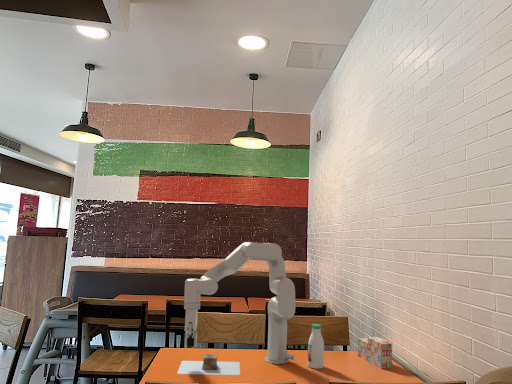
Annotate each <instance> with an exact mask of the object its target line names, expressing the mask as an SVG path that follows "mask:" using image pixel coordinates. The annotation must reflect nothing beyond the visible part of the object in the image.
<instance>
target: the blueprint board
mask: <svg viewBox="0 0 512 384" xmlns="http://www.w3.org/2000/svg"><path fill="white" fill-rule="evenodd" d="M240 365H241V363H240V361H218V360H217V367H216V370H209V369H203V360H182V361H181V362H180V365H179V368H178V370H177V372H176V374H177V375H211V376H212V375H214V376H215V375H216V376H217V375H218V376H219V375H220V376H241V369H240V368H241V367H240Z"/></svg>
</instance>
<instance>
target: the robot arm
mask: <svg viewBox="0 0 512 384" xmlns="http://www.w3.org/2000/svg"><path fill="white" fill-rule="evenodd" d="M282 252H283V250H282V247H281V246H280V245H279V244H277V243H270V242H262V243H261V242H253V241H252V242H251V241H247V242H246V241H245V242H243V243H241V244H239V246H237V247H236V248H235V249H234V250H233V251H232V252H231V253H229V255H228V256H227V257H225V258H224V259H223V260H221V261H219V263H217V264H216V265H213V267H211V268H210V269H209V270H207V271H206V272H205V273H204V274H203V275H202V276H201V277H200V278H195V277H194V278H187V279H185V281H184V297H183V298H184V301H183V303H184V304H183V309H184V310H185V317H184V320H185V321H184V332H185V333H186V331H188V336H187V347H186V348H195V347H194V331H197V327H198V314H199V313H198V312H199V311H198V310H200V309H201V295H208V296H210V295H213V294H216V293H217V291H218V289H219V285H218V282H219V281H220V280H222V279H224V278H225V277H228V276H230V275H233V274H235V273H237V272H238V271H240V269H241V268H242V267H243V266H245V264H246V263H248V262H249V261H266V263H267V265H268V272H269V273H268V275H269V276H268V279H269V281H268V282H269V285H268V286H269V290H270V291H271V293H273V294H275V295H276V296H273V297H271V298H270V299H269V301H268V303H267V315H268V317H267V319H268V325H267V326H268V328H267V329H268V331H267V354H266V355H265V356H264V357H263V358H264V361H265V362H267V363H271V364H272V365H285V364H287V363H289V362H290V360H292V361H294V360H295V355H294V354H291V353H290V354H289V351H288V350H287V337H288V332H287V331H288V321H287V320H290V319H291V318H293V317H294V315H295V313H296V287H295V283H294V282H293V280H292V279H290V278H289V277H287V275H286V274H287V273H286V264H285V260H284V258H283V256H282V255H283V253H282ZM192 332H193V333H192Z"/></svg>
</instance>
